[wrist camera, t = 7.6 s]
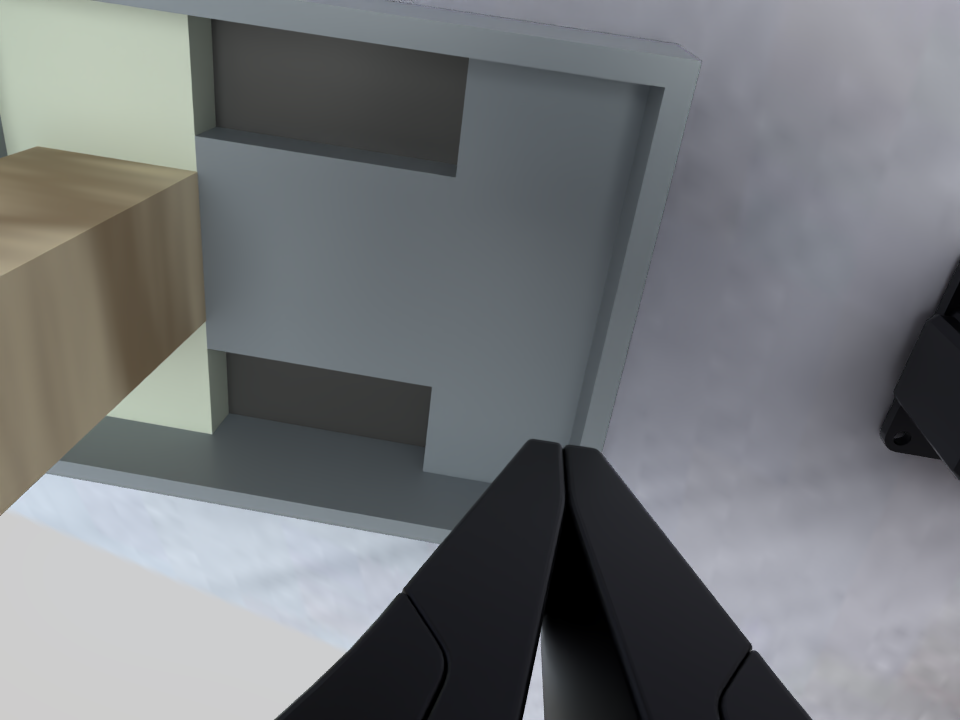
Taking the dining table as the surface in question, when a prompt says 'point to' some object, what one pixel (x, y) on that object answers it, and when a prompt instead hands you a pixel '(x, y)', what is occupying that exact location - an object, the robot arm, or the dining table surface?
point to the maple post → (87, 295)
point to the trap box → (366, 237)
